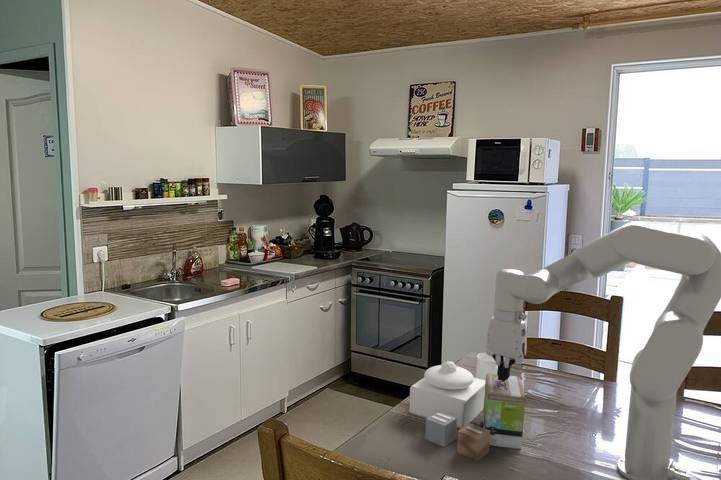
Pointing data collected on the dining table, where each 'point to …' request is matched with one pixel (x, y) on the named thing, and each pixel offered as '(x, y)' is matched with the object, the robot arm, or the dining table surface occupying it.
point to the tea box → (504, 411)
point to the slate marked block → (441, 428)
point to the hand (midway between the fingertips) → (503, 379)
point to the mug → (485, 366)
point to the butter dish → (448, 393)
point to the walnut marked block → (473, 441)
